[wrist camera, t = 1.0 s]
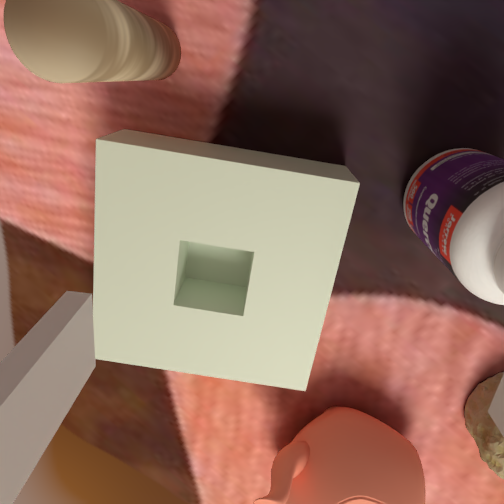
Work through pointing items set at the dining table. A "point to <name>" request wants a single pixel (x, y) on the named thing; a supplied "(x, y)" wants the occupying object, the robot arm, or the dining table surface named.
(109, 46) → the dowel
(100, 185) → the bore block
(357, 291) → the dining table surface
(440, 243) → the pill bottle
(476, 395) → the decorative object
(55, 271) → the dining table surface
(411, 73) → the dining table surface
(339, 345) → the dining table surface
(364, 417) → the teapot
